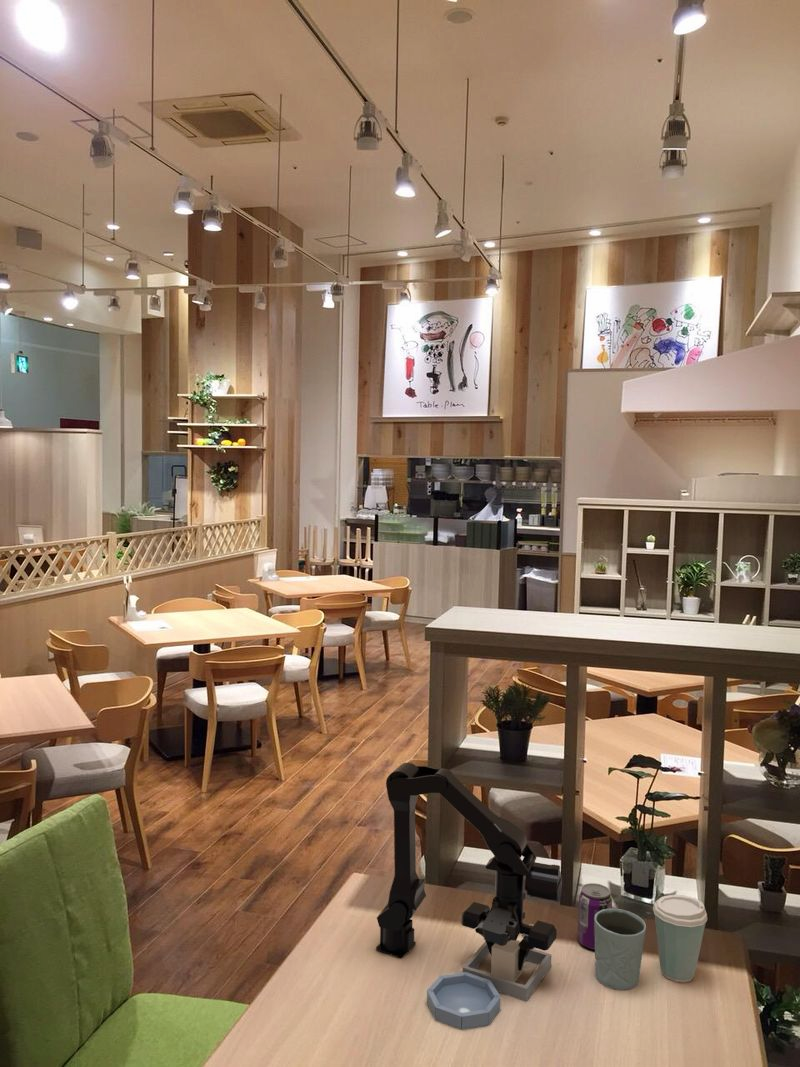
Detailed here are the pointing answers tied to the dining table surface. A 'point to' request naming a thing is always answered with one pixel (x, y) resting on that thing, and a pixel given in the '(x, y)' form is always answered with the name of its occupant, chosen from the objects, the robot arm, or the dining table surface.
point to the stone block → (506, 961)
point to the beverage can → (591, 911)
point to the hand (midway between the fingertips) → (507, 965)
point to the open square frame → (506, 985)
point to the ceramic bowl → (463, 1000)
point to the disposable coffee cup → (679, 935)
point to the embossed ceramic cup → (618, 948)
